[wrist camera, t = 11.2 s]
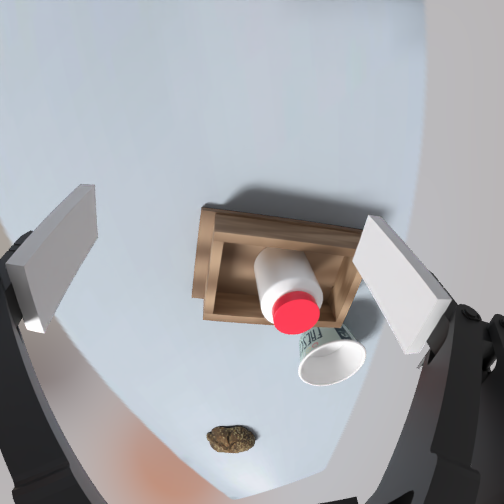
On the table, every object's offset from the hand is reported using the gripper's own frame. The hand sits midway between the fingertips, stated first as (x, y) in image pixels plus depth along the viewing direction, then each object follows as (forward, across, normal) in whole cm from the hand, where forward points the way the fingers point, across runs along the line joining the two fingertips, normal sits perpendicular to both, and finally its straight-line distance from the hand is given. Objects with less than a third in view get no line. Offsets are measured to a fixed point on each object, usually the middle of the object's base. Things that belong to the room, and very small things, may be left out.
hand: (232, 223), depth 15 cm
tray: (+25, +10, -18) cm, 32 cm away
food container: (+25, +22, -33) cm, 47 cm away
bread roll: (+24, +9, -71) cm, 75 cm away
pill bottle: (+24, +10, -18) cm, 32 cm away
